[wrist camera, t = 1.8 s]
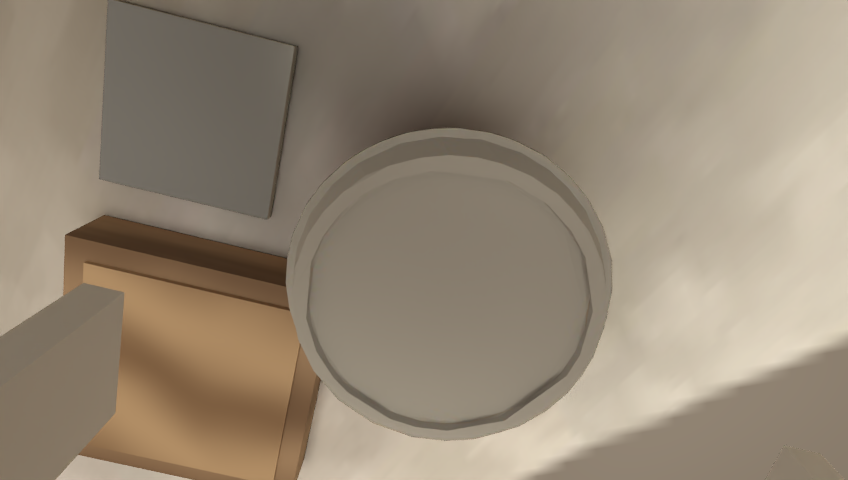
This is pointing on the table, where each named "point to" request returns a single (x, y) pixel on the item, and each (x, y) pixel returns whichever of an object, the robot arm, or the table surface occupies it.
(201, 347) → the walnut base
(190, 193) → the slate coaster
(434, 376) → the disposable coffee cup
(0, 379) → the robot arm
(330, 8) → the table surface
